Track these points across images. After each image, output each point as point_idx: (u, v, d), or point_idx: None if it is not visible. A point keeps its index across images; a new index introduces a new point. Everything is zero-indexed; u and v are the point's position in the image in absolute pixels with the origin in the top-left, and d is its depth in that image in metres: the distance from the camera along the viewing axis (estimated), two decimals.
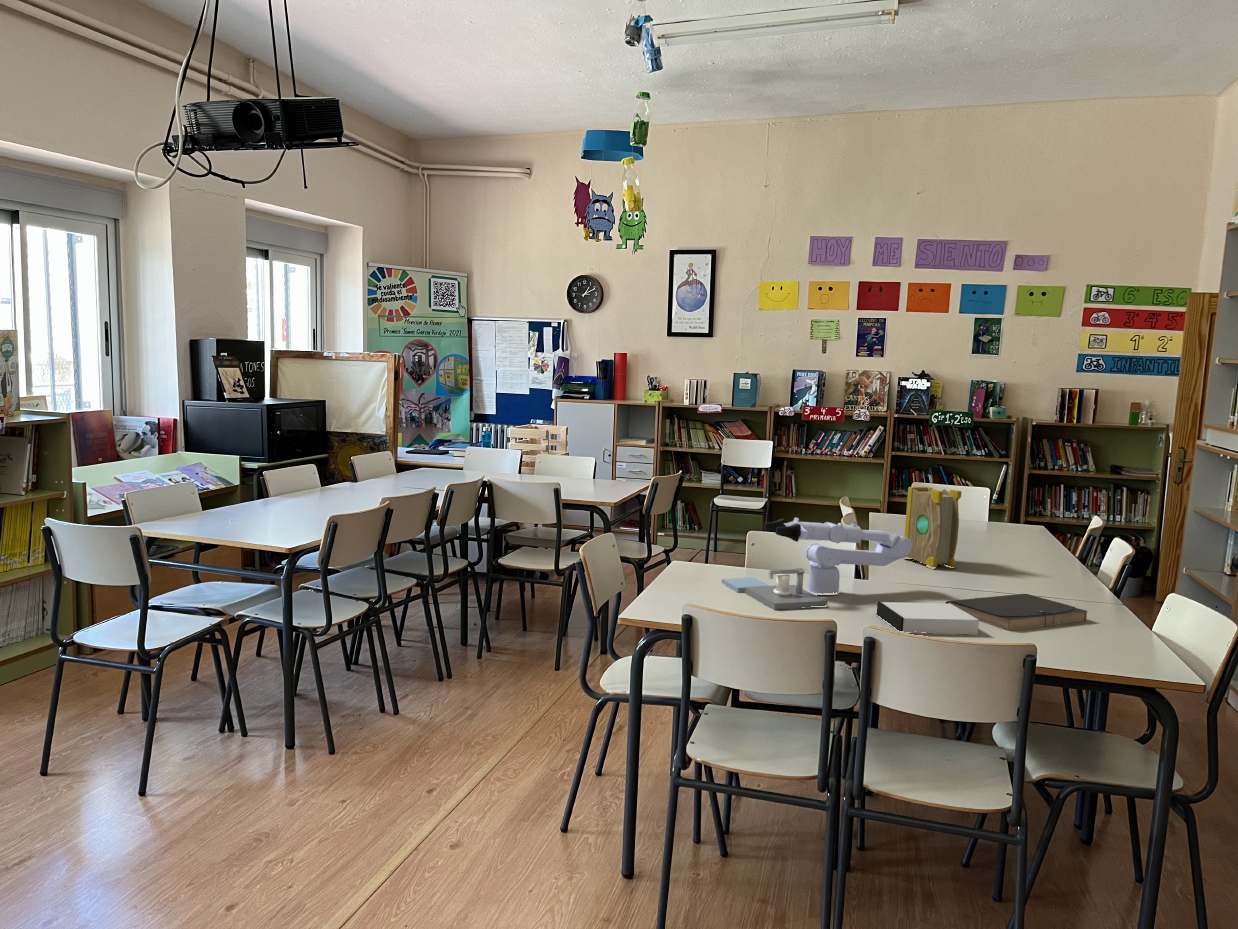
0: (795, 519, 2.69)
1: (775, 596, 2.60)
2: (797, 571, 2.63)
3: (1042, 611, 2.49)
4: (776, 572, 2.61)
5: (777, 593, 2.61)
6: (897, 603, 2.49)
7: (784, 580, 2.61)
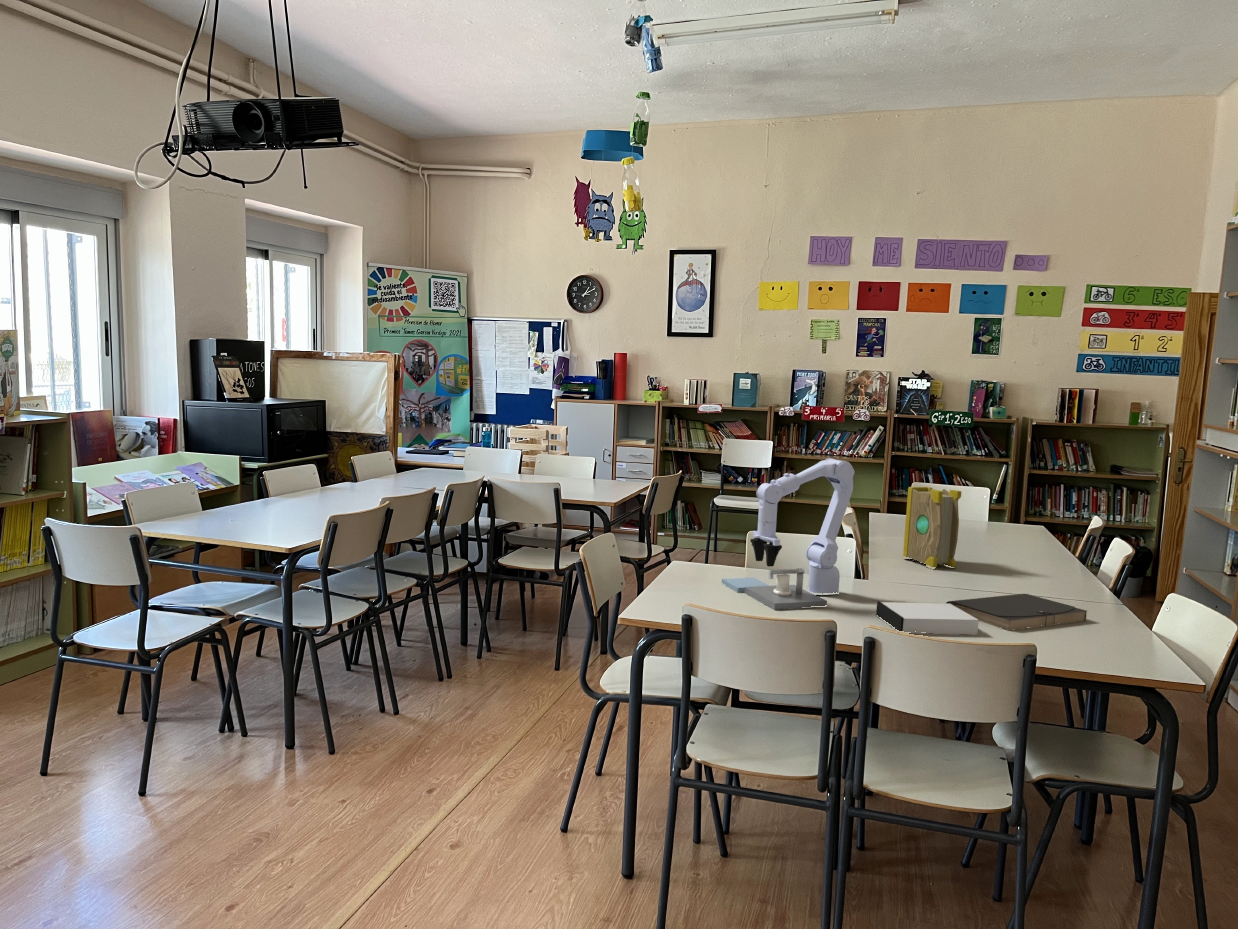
0: None
1: (775, 596, 2.60)
2: (797, 571, 2.63)
3: (1042, 611, 2.49)
4: (776, 572, 2.61)
5: (777, 593, 2.61)
6: (897, 603, 2.49)
7: (784, 580, 2.61)
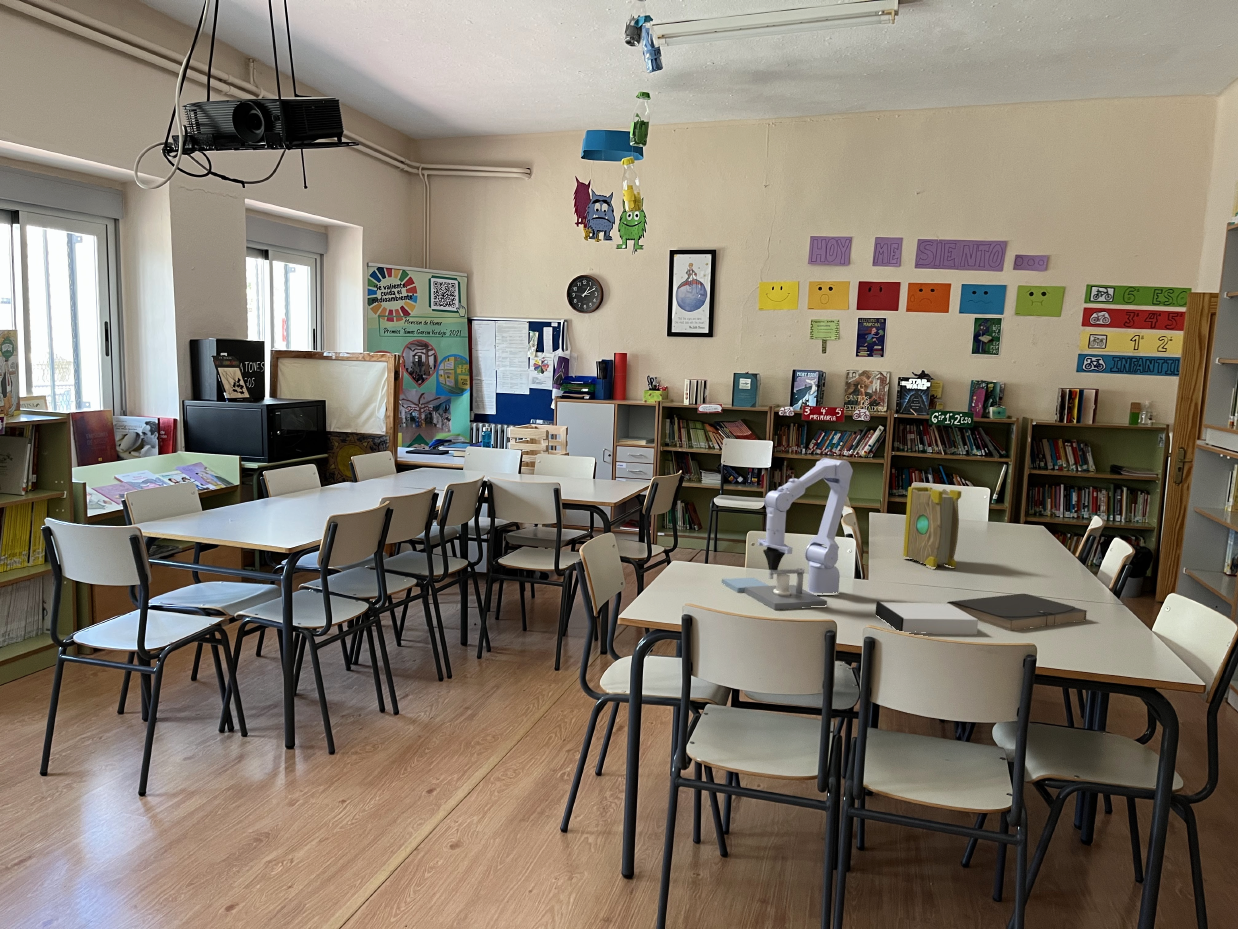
0: None
1: (775, 596, 2.60)
2: (797, 571, 2.63)
3: (1043, 611, 2.49)
4: (776, 572, 2.61)
5: (777, 593, 2.61)
6: (896, 603, 2.49)
7: (784, 580, 2.61)
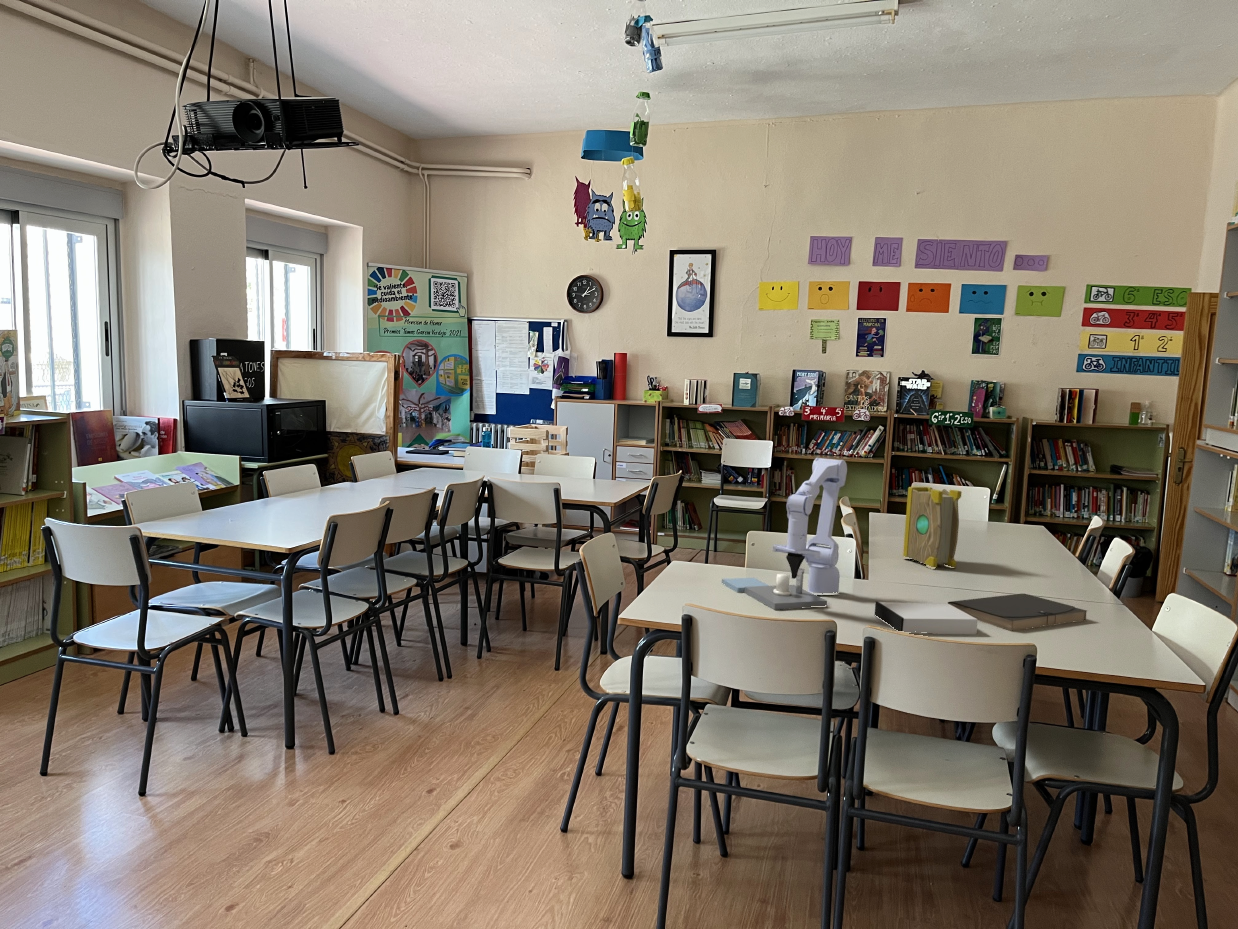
0: (791, 552, 2.52)
1: (775, 596, 2.60)
2: (802, 572, 2.63)
3: (1043, 611, 2.49)
4: (800, 577, 2.56)
5: (777, 593, 2.61)
6: (895, 603, 2.49)
7: (784, 580, 2.61)
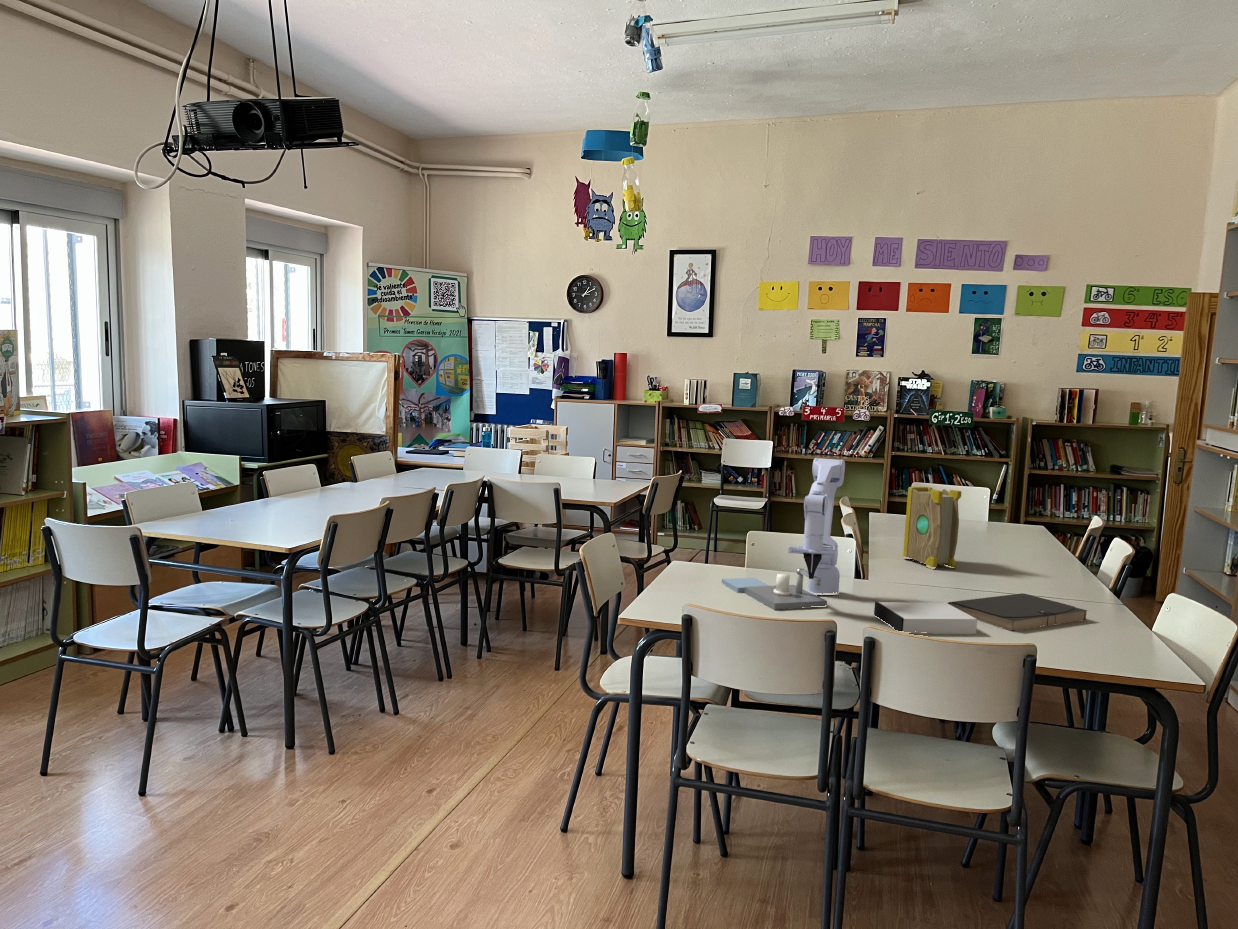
0: (812, 552, 2.51)
1: (775, 596, 2.60)
2: None
3: (1044, 611, 2.49)
4: None
5: (777, 593, 2.61)
6: (894, 603, 2.49)
7: (784, 580, 2.61)
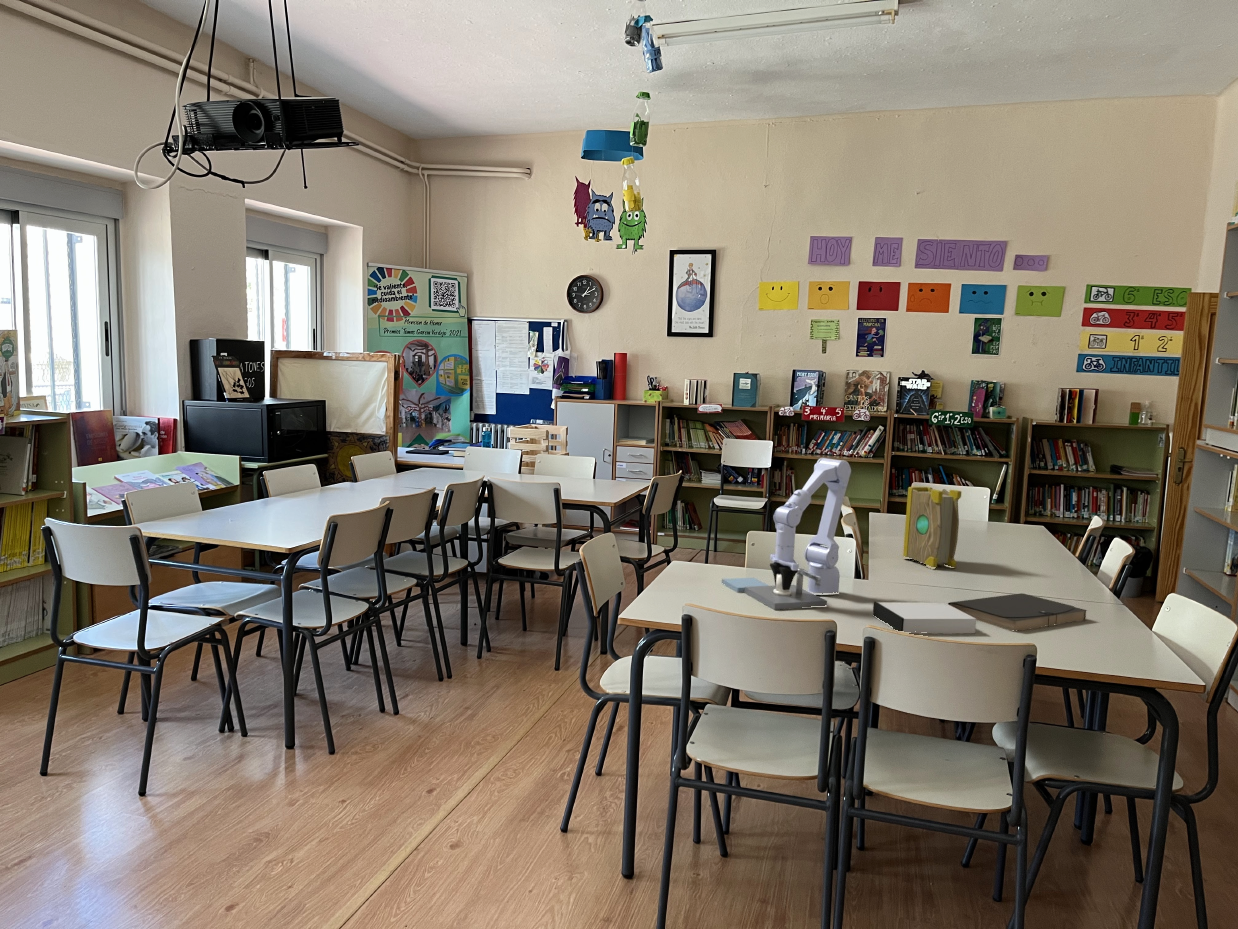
0: None
1: (775, 596, 2.60)
2: None
3: (1044, 611, 2.49)
4: None
5: (777, 593, 2.61)
6: (893, 603, 2.49)
7: None
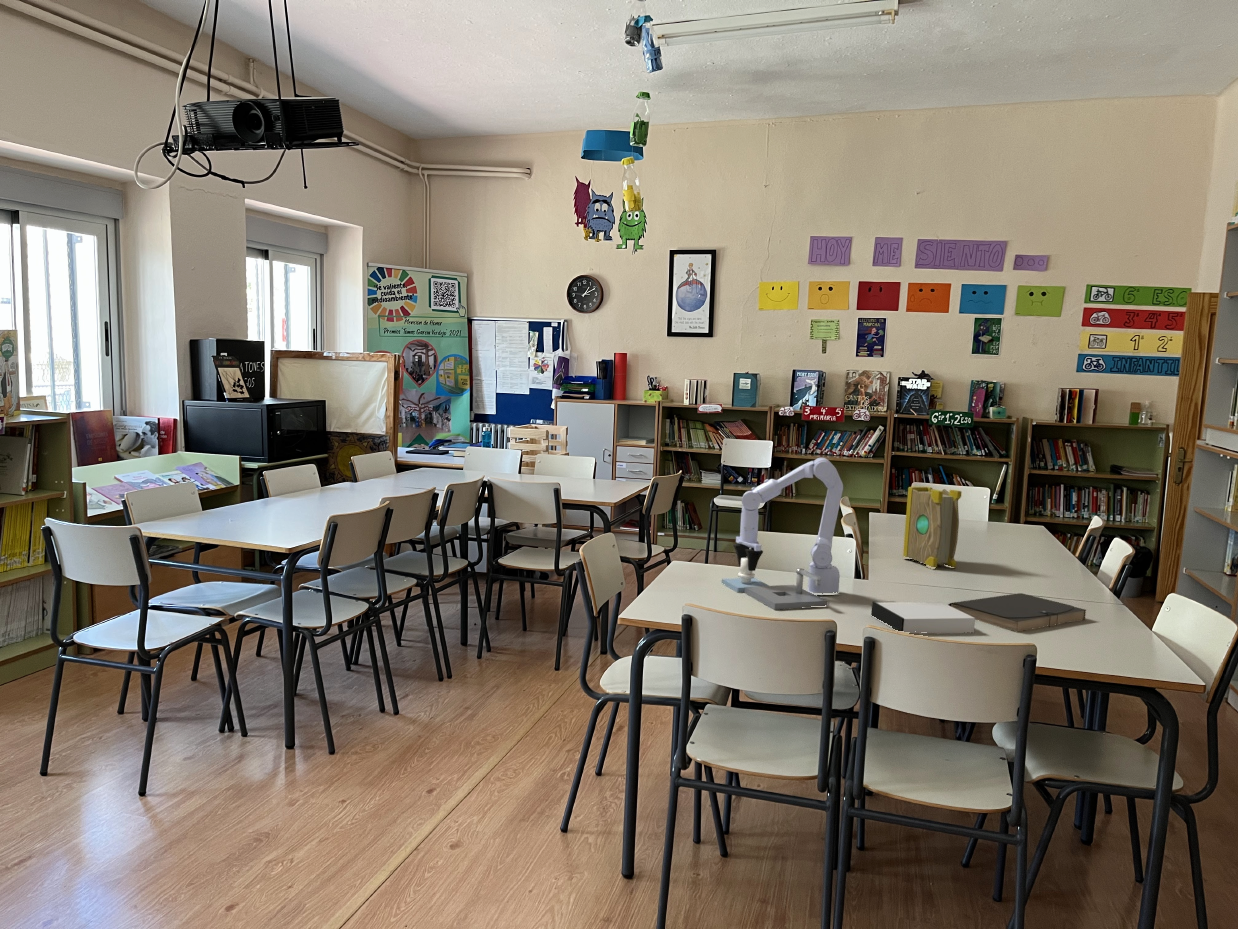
0: (738, 542, 2.76)
1: (775, 596, 2.60)
2: None
3: (1045, 611, 2.49)
4: None
5: (741, 576, 2.76)
6: (891, 603, 2.49)
7: (747, 563, 2.75)
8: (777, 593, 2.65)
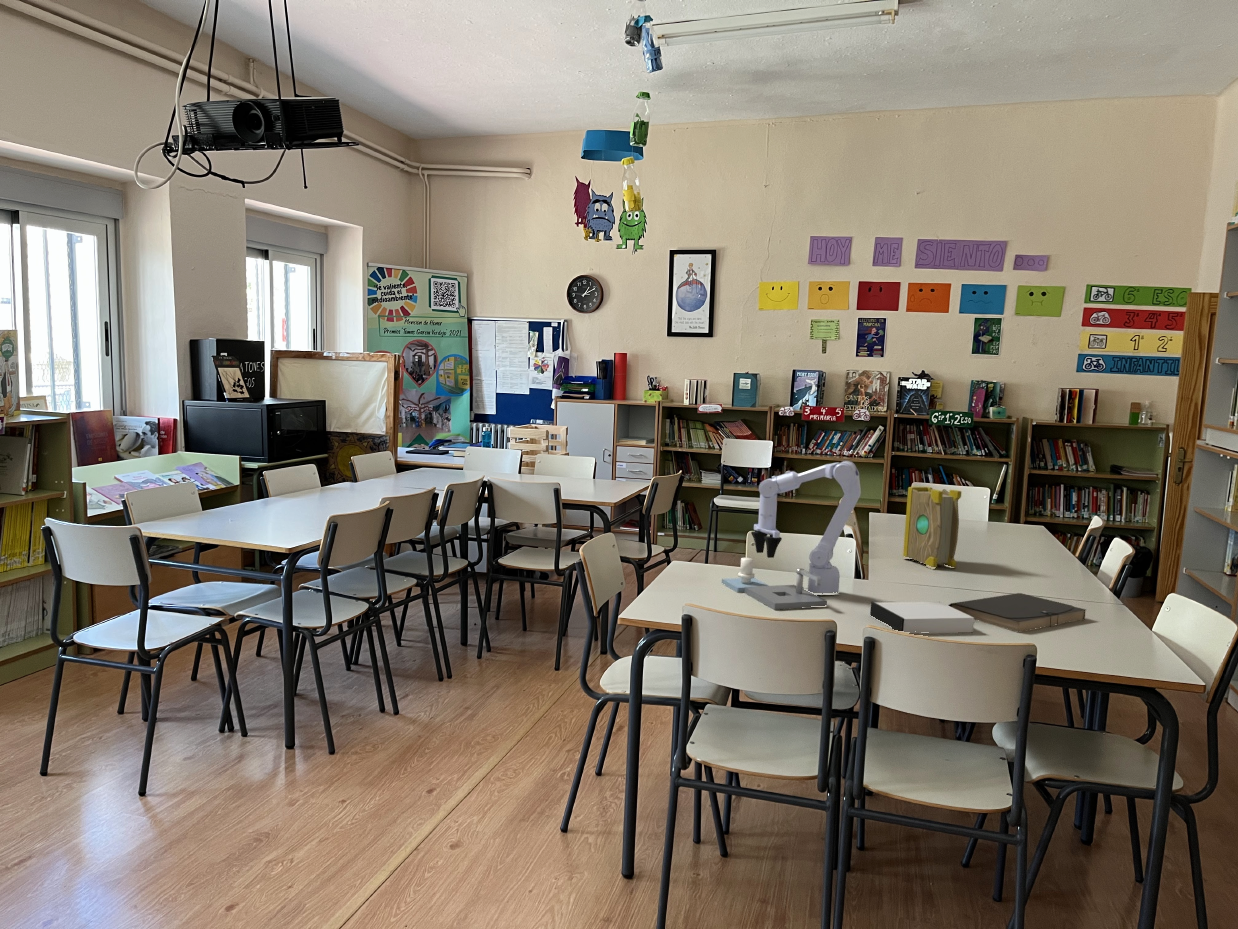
0: (757, 529, 2.78)
1: (775, 596, 2.60)
2: None
3: (1046, 611, 2.49)
4: None
5: (741, 576, 2.76)
6: (890, 603, 2.48)
7: (747, 563, 2.75)
8: (777, 593, 2.65)
